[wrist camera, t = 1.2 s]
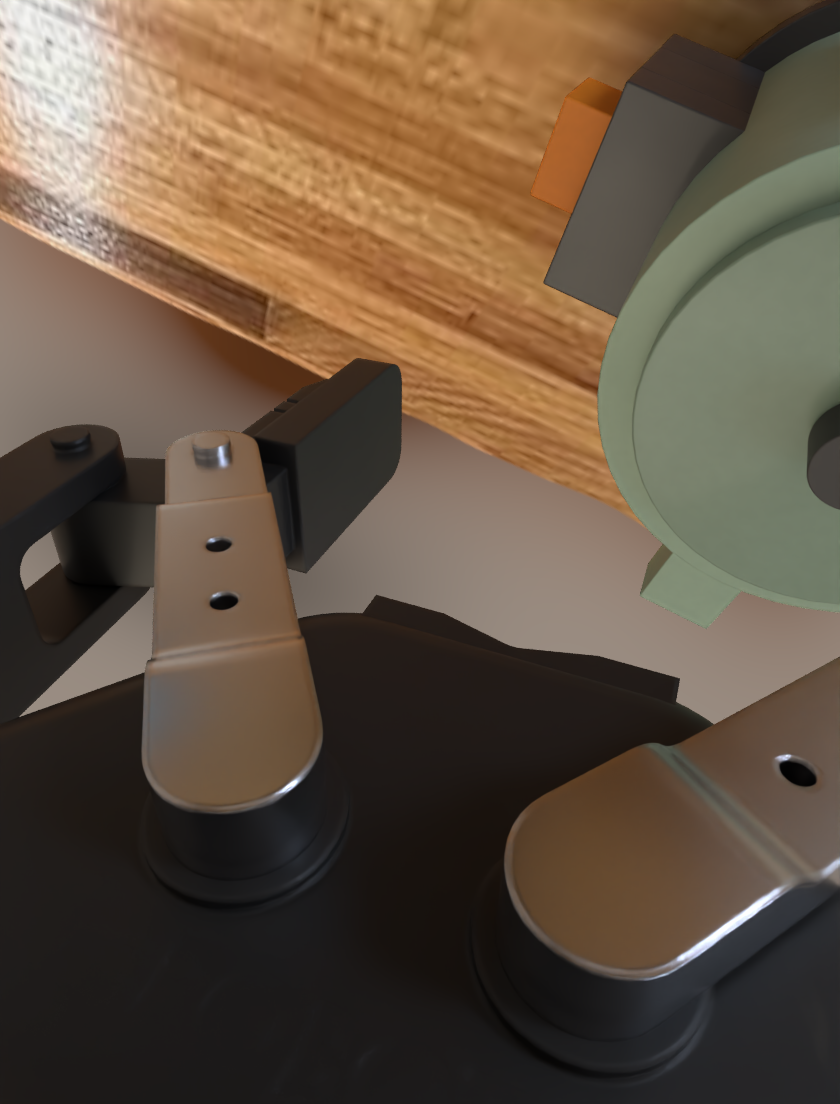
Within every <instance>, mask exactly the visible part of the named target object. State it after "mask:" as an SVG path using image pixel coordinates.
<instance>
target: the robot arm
mask: <svg viewBox="0 0 840 1104" xmlns="http://www.w3.org/2000/svg"><path fill="white" fill-rule="evenodd" d="M401 416H402V378H401V372H400V369H399V367H398V366H397V365H395V364H390V363H384V362H378V361H372V360H367V359H361V358H356V359H355V360H353V361H352V362H351V363H349V364H348V365H347V366H345V367H344V368H343V369H341V370H340V371H339V372H337V373H336V374H335V375H333V376H332V377H331V378H329V379H325V380H323V381H320V382H317V383H314V384H311V385H309V386H305V387H303V388H301V389H300V390H299V391H297V392H296V393H295V394H293V395H292V396H291V397H289V398H288V399H287V402H285V401H284V402H282V403H281V404H280V405H278V406H277V407H276V408H274V411H270V412H269V413H267V414H266V415H265V416H263V417H262V418H261V419H259V420H258V421H256V422H255V423H254V424H252V425H251V426H250V427H248V428H247V429H246V430H244V431H243V432H241V433H240V432H235V431H227V430H215V431H214V430H213V431H204V432H199V433H195V434H191V435H188V436H186V437H183V438H181V439H179V440H177V441H176V442H174V443H173V444H172V445H170V447H169V448H168V449H167V451H166V454H165V459H147V458H146V459H145V458H124V455H123V451H122V447H121V442H120V438H119V435H118V434H117V432H116V431H114V430H112V429H110V428H108V427H104V426H99V425H87V424H86V425H72V426H65V427H61V428H56V429H53V430H50V431H47V432H45V433H42V434H40V435H38V436H36V437H35V438H33V439H31V440H30V441H28V442H26V443H24V444H23V445H21V446H20V447H18V448H16V449H14V450H13V451H11V452H9V453H8V454H6V455H4V456H2V457H1V458H0V1104H840V657H838V658H836V659H834V660H833V661H831V662H829V663H827V664H825V665H824V666H822V667H820V668H818V669H816V670H814V671H812V672H810V673H809V674H807V675H805V676H803V677H801V678H799V679H798V680H796V681H794V682H792V683H790V684H788V685H787V686H785V687H783V688H781V689H779V690H777V691H775V692H773V693H772V694H770V695H768V696H766V697H764V698H762V699H761V700H759V701H757V702H755V703H753V704H751V705H750V706H748V707H746V708H744V709H742V710H741V711H738V712H736V713H735V714H733V715H731V716H729V717H727V718H726V719H724V720H722V721H720V722H718V723H716V724H713V723H711V722H710V721H708V720H707V719H705V718H704V717H702V716H701V715H699V714H697V713H695V712H694V711H692V710H690V709H689V708H687V707H685V706H683V705H681V704H679V703H677V702H676V698H677V692H678V687H679V681H680V678H676V677H672V676H669V675H665V674H662V673H658V672H654V671H651V670H647V669H643V668H640V667H636V666H633V665H629V664H625V663H622V662H618V661H614V660H610V659H607V658H604V657H600V656H593V655H582V654H573V653H563V652H553V651H552V652H551V651H543V650H533V649H522V648H516V647H512V646H509V645H507V644H504V643H502V642H500V641H498V640H496V639H494V638H492V637H490V636H488V635H486V634H484V633H482V632H480V631H478V630H476V629H474V628H472V627H470V626H468V625H466V624H464V623H462V622H460V621H458V620H456V619H454V618H452V617H450V616H448V615H446V614H444V613H440V612H436V611H433V610H429V609H425V608H422V607H418V606H415V605H411V604H407V603H404V602H400V601H397V600H393V599H389V598H386V597H382V596H378V595H376V596H375V597H374V599H373V600H372V601H371V603H370V604H369V605H368V607H367V608H366V609H365V611H364V612H363V613H329V614H320V615H313V616H307V617H303V618H299V619H298V618H297V613H296V609H295V604H294V599H293V594H292V590H291V585H290V580H289V575H288V570H287V568H288V569H292V570H296V571H299V572H303V573H307V572H308V571H309V570H310V568H311V567H312V566H313V565H314V564H315V563H316V562H317V561H318V560H319V559H320V557H321V556H322V555H323V554H324V553H325V552H326V551H327V550H328V548H329V547H330V546H331V545H332V544H333V543H334V541H336V540H337V538H338V537H339V536H340V535H341V534H342V533H343V532H344V530H345V529H346V528H347V527H348V526H349V525H350V524H351V523H352V522H353V521H354V519H355V518H356V517H357V516H358V515H359V514H360V513H361V512H362V510H363V509H364V508H365V507H366V506H367V505H368V503H369V502H370V501H371V500H372V499H373V498H374V497H375V496H376V495H377V494H378V493H379V491H380V490H381V489H382V488H383V487H384V486H385V485H386V484H387V482H388V481H389V480H390V479H391V478H392V476H393V475H394V473H395V471H396V468H397V466H398V463H399V459H400V454H401V422H402V419H401ZM50 531H51V534H52V537H53V540H54V543H55V547H56V550H57V553H58V556H59V559H60V563H59V564H58V565H56V566H55V567H54V568H53V569H51V570H50V571H49V572H48V573H46V574H45V575H44V576H43V577H42V578H40V579H39V580H38V581H37V582H35V583H34V584H33V585H32V586H30V587H29V588H28V589H27V590H25V589H24V587H23V584H22V581H21V577H20V566H21V562H22V559H23V556H24V554H25V553H26V551H27V550H28V549H29V547H30V546H32V545H33V544H34V543H35V542H36V541H38V540H39V539H41V538H42V537H43V536H45V535H46V534H47V533H49V532H50ZM150 587H154V603H153V639H152V657H151V660H148V661H147V663H146V667H145V672H144V673H142V674H139V675H136V676H133V677H131V678H128V679H125V680H122V681H119V682H116V683H114V684H111V685H108V686H105V687H102V688H100V689H97V690H94V691H91V692H88V693H86V694H83V695H80V696H77V697H74V698H72V699H69V700H66V701H63V702H61V703H58V704H55V705H52V706H49V707H47V708H44V709H41V710H38V711H36V712H32V713H30V714H27V715H24V716H21V717H19V716H20V715H21V714H22V713H23V712H24V711H25V710H26V709H27V708H28V707H29V706H31V705H32V704H33V703H34V702H35V701H36V700H37V699H38V698H39V697H40V696H41V695H42V694H43V693H44V692H45V691H46V690H47V689H48V688H49V687H50V686H51V685H52V684H53V683H54V682H55V681H56V680H57V679H58V678H59V677H60V676H61V675H62V674H63V673H64V672H65V671H66V670H67V669H69V668H70V667H71V666H72V665H73V664H74V663H75V662H76V661H77V660H78V659H79V658H80V657H81V656H82V655H83V654H84V653H85V652H86V651H87V650H88V649H89V648H90V647H91V646H92V645H93V644H94V643H95V642H96V641H97V640H98V639H99V638H100V637H101V636H102V635H103V634H105V633H106V632H107V630H109V628H111V627H112V626H113V625H114V624H115V623H116V622H117V621H118V620H119V619H120V618H121V617H122V616H123V615H124V614H125V613H126V612H127V611H128V610H129V609H130V608H131V607H132V606H133V605H134V604H135V603H137V602H138V601H139V600H140V599H141V597H143V596H144V595H145V594H146V592H147V591H148V590H149V588H150Z"/></svg>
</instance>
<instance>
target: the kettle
mask: <svg viewBox="0 0 840 1104" xmlns="http://www.w3.org/2000/svg"><path fill="white" fill-rule="evenodd" d="M543 283H544V284H546V285H548V286H550V287H552V288H554V289H556V290H559V291H561V292H563V293H565V294H567V295H569V296H572V297H574V298H576V299H578V300H580V301H582V302H584V303H587V304H589V305H591V306H593V307H595V308H597V309H600V310H602V311H604V312H606V313H608V314H610V315H613V316H615V317H617V320H616V322H615V325H614V327H613V329H612V332H611V334H610V336H609V339H608V343H607V346H606V350H605V354H604V357H603V361H602V365H601V370H600V378H599V386H598V394H597V397H598V424H599V430H600V436H601V442H602V447H603V450H604V453H605V456H606V460H607V463H608V466H609V469H610V472H611V474H612V476H613V478H614V480H615V482H616V484H617V486H618V488H619V490H620V492H621V494H622V496H623V497H624V499H625V500H626V502H627V503H628V505H629V506H630V508H631V509H632V511H633V512H634V514H635V515H636V516H637V517H638V519H639V520H640V521H641V522H642V523H643V524H644V525H645V527H646V528H647V529H648V530H649V531H650V532H651V533H652V535H654V536H655V537H656V538H657V539H658V540H659V541H660V542H662V543H663V544H662V546H661V547H660V548H659V550H658V551H657V552H656V554H655V555H654V557H653V558H652V559H651V561H650V562H649V563H648V567H647V570H646V574H645V578H644V581H643V585H642V589H641V592H640V596H641V597H643V598H645V599H647V600H649V601H651V602H653V603H655V604H657V605H659V606H661V607H663V608H665V609H667V610H669V611H671V612H673V613H675V614H677V615H679V616H681V617H683V618H685V619H687V620H689V621H691V622H693V623H695V624H697V625H699V626H701V627H703V628H705V629H707V628H708V627H709V626H710V624H711V623H712V622H713V621H714V620H715V619H716V618H717V617H718V616H719V615H720V614H721V612H722V611H723V610H724V609H725V608H726V607H727V606H728V605H729V604H730V603H731V602H732V601H733V600H734V598H735V597H736V596H737V595H738V594H739V593H740V592H741V591H743V592H745V593H748V594H752V595H755V596H758V597H761V598H764V599H767V600H770V601H774V602H779V603H783V604H787V605H792V606H796V607H801V608H807V609H814V610H822V611H830V612H840V0H825V1H822V2H820V3H818V4H815V5H813V6H810V7H809V8H807V9H805V10H803V11H802V12H800V13H798V14H796V15H795V16H793V17H791V18H789V19H788V20H786V21H784V22H782V23H781V24H779V25H778V26H777V27H775V28H774V29H772V30H771V31H770V32H768V33H767V34H766V35H764V36H763V37H761V38H760V39H759V40H757V41H756V42H755V43H754V44H753V45H751V46H750V47H749V48H748V49H747V50H746V51H745V52H744V53H743V54H742V55H740V56H739V57H738V58H737V59H736V60H735V59H733V58H731V57H728V56H726V55H724V54H721V53H719V52H717V51H714V50H712V49H709V48H707V47H705V46H702V45H700V44H698V43H695V42H693V41H691V40H688V39H686V38H684V37H681V36H679V35H677V34H673V35H672V36H671V37H670V38H669V39H668V40H667V41H666V42H665V43H664V44H663V45H662V46H661V48H660V49H659V50H658V51H657V52H656V53H655V54H654V55H653V56H652V57H651V58H650V59H649V60H648V61H647V62H646V63H645V64H644V65H643V66H642V67H641V68H640V69H639V70H638V71H637V72H636V73H635V74H634V75H633V76H632V77H631V78H630V79H629V80H628V81H627V82H626V84H625V87H624V89H623V91H622V94H621V96H620V99H619V101H618V103H617V106H616V108H615V111H614V113H613V115H612V118H611V120H610V123H609V125H608V127H607V130H606V132H605V135H604V137H603V140H602V142H601V144H600V147H599V149H598V152H597V154H596V156H595V159H594V161H593V164H592V166H591V168H590V171H589V173H588V176H587V178H586V180H585V183H584V185H583V188H582V190H581V192H580V195H579V197H578V200H577V202H576V205H575V207H574V209H573V212H572V214H571V217H570V219H569V221H568V224H567V226H566V229H565V231H564V233H563V236H562V238H561V241H560V243H559V245H558V248H557V250H556V253H555V255H554V257H553V260H552V262H551V265H550V267H549V270H548V272H547V274H546V277H545V279H544V282H543Z"/></svg>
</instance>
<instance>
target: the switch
mask: <svg viewBox="0 0 840 1104" xmlns="http://www.w3.org/2000/svg"><path fill="white" fill-rule="evenodd" d="M621 94H622V91H620V90H617V89H615V88H613V87H611V86H608V85H606V84H604V83H601V82H599V81H597V80H595V79H592V78H587V79H586V80H585V81H584V82H583V83H581V84H580V85H579V86H578V87H577V88H575V89H574V90H573V91H572V92H571V93H569V94H568V95H567V96H566V97H565V100H564V102H563V105H562V108H561V110H560V113H559V116H558V119H557V121H556V124H555V127H554V129H553V132H552V135H551V138H550V140H549V143H548V146H547V149H546V151H545V154H544V157H543V159H542V162H541V165H540V168H539V170H538V173H537V176H536V178H535V181H534V184H533V187H532V189H531V192H530V195H531V196H533V197H535V198H537V199H540V200H542V201H544V202H546V203H549V204H551V205H553V206H555V207H557V208H560V209H562V210H564V211H566V212H568V213H571V214H572V212H573V209H574V207H575V205H576V202H577V200H578V197H579V195H580V192H581V190H582V188H583V185H584V183H585V180H586V178H587V176H588V173H589V171H590V168H591V166H592V164H593V161H594V159H595V156H596V154H597V152H598V149H599V147H600V144H601V142H602V140H603V137H604V135H605V132H606V130H607V127H608V125H609V123H610V120H611V118H612V115H613V113H614V111H615V108H616V106H617V103H618V101H619V99H620V96H621Z"/></svg>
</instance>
